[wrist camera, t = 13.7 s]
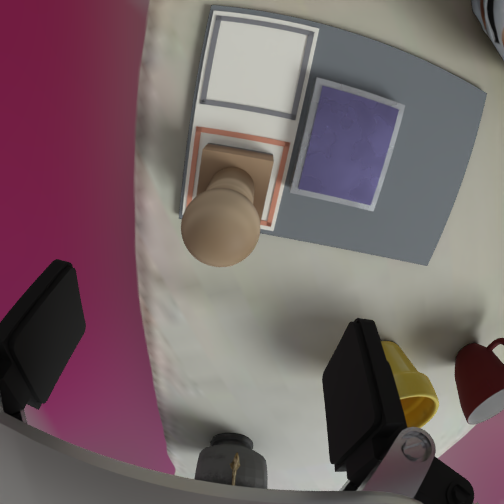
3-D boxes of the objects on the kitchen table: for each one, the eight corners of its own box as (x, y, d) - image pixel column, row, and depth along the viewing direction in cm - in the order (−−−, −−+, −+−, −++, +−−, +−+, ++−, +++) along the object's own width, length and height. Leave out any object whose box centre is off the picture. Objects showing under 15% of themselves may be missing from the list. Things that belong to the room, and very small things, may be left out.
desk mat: (212, 6, 19) (211, 5, 18) (483, 92, 20) (486, 93, 19) (180, 215, 27) (178, 218, 27) (424, 262, 29) (427, 265, 28)
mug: (471, 316, 32) (505, 373, 24) (507, 318, 33) (539, 369, 24) (433, 372, 38) (455, 428, 29) (470, 370, 38) (493, 420, 29)
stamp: (208, 142, 23) (167, 188, 14) (273, 154, 24) (278, 207, 14) (200, 201, 26) (162, 279, 16) (260, 212, 26) (257, 296, 17)
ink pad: (314, 77, 21) (317, 77, 19) (398, 103, 21) (406, 105, 20) (288, 187, 25) (290, 193, 24) (368, 205, 26) (374, 212, 24)
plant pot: (427, 327, 33) (456, 390, 25) (397, 381, 38) (414, 439, 30) (348, 327, 33) (367, 399, 25) (327, 383, 38) (336, 448, 30)
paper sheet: (214, 11, 18) (213, 10, 18) (318, 29, 19) (319, 28, 18) (182, 214, 27) (181, 215, 26) (273, 230, 27) (273, 231, 27)
